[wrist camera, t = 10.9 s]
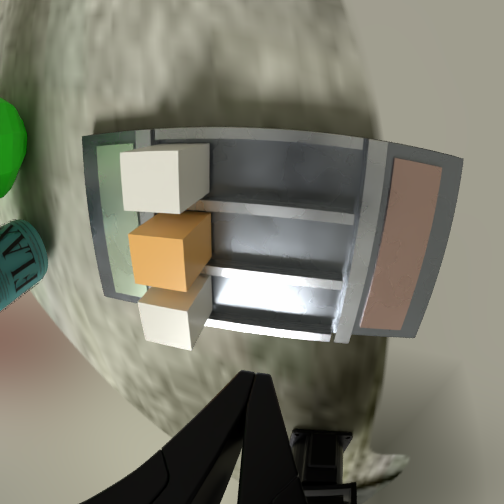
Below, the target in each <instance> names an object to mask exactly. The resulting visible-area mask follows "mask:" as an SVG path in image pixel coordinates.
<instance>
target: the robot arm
mask: <svg viewBox="0 0 504 504" xmlns="http://www.w3.org/2000/svg"><path fill="white" fill-rule="evenodd" d="M352 438H353V434H352V433H344V432H323V431H309V430H298V429H296V430H293V431H292V434H291V437H290V441H289V439H288V435H287V432H286V428H285V424H284V421H283V417H282V414H281V410H280V406H279V403H278V399H277V396H276V392H275V388H274V385H273V381H272V377H271V375H270V374H265V373H256V375H255V373H254V372H251V371H245V370H241V371H240V372H238V374H237V375H236V376H235V377H234V378H233V379H232V380H231V381H230V382H229V383H228V384H227V385H226V386H225V387H224V388H223V389H222V390H221V391H220V392H219V393H218V394H217V395H216V396H215V397H214V398H213V399H212V400H211V401H210V402H209V403H208V404H207V405H206V406H205V407H204V408H203V409H202V410H201V411H200V412H199V413H198V414H197V415H196V416H195V417H194V418H193V419H192V420H191V421H190V422H189V423H188V424H187V425H186V426H185V427H184V428H183V429H181V430H180V431H179V432H178V433H177V434H176V435H175V436H174V437H173V438H172V439H171V440H170V441H169V442H168V443H166V445H164V446H163V447H162V450H159V451H158V452H157V453H155V454H154V455H153V456H152V457H151V458H150V459H149V460H147V461H146V462H145V463H144V464H142V465H141V466H140V467H139V468H137V469H136V470H135V471H133V472H132V473H130V474H129V475H127V476H126V477H124V478H123V479H121V480H120V481H118V482H117V483H115V484H113V485H112V486H110V487H109V488H107V489H105V490H103V491H102V492H100V493H98V494H97V495H95V496H93V497H91V498H90V499H88V500H86V501H84V502H82V503H79V504H220V502H221V500H222V497H223V495H224V492H225V490H226V487H227V485H228V482H229V480H230V477H231V475H232V472H233V470H234V467H235V465H236V462H237V459H238V457H239V454H240V451H241V449H242V456H241V467H240V478H239V490H238V501H237V504H357V490H356V482H351V483H347V484H342V476H343V453H344V451H345V450H346V448H347V446H348V445H349V443H350V441H351V440H352ZM344 500H348V502H343V501H344Z"/></svg>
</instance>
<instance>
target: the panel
mask: <svg viewBox="0 0 504 504" xmlns="http://www.w3.org/2000/svg"><path fill="white" fill-rule="evenodd" d="M170 143H210V161H209V193H208V194H206V195H205V196H204V197H202V198H201V199H200V200H198V201H197V202H196V203H194V204H193V205H191V206H190V207H189V208H187V209H186V210H185V211H197V212H210V213H211V247H212V257H211V258H210V260H209V261H208V263H207V264H206V265H205V267H204V268H203V270H202V271H201V272H200V274H206V275H211V285H212V309H213V310H212V312H211V314H210V316H209V318H208V320H207V322H206V324H205V325H206V326H211V327H217V328H223V329H230V330H236V331H243V332H250V333H257V334H264V335H272V336H279V337H288V338H296V339H305V340H315V341H325V342H330V337H331V333H333V336H334V342H337V343H349V340H350V337H351V334H354V335H368V336H384V337H403V338H404V337H405V338H415V336H416V334H417V331H418V329H419V326H420V324H421V321H422V319H423V316H424V313H425V310H426V308H427V305H428V302H429V300H430V297H431V294H432V291H433V288H434V285H435V282H436V279H437V276H438V273H439V269H440V266H441V263H442V259H443V256H444V252H445V249H446V245H447V241H448V238H449V233H450V230H451V225H452V221H453V217H454V212H455V207H456V202H457V196H458V191H459V186H460V180H461V174H462V167H463V159H462V158H459V157H455V156H452V155H448V154H444V153H440V152H436V151H431V150H427V149H423V148H418V147H413V146H408V145H403V144H398V143H392V142H387V141H382V140H376V139H369V138H363V137H356V136H349V135H341V134H333V133H324V132H315V131H304V130H292V129H277V128H257V127H177V128H157V129H143V130H131V131H120V132H111V133H102V134H95V135H88V136H82V145H83V162H84V175H85V186H86V195H87V204H88V211H89V218H90V225H91V232H92V238H93V244H94V249H95V255H96V260H97V265H98V270H99V274H100V279H101V283H102V288H103V292H104V296H106V297H110V298H115V299H119V300H124V301H128V302H133V303H138V301H139V300H140V299H141V298H142V296H143V295H144V294H145V293H146V292H147V291H148V290H149V288H150V287H151V286H146V285H141V284H135V279H134V273H133V267H132V261H131V254H130V247H129V239H128V234H129V233H130V232H132V231H133V230H134V229H136V228H137V227H139V226H140V225H142V224H143V223H145V222H146V221H148V220H149V219H151V218H152V217H154V216H155V215H157V214H158V213H156V212H140V211H124V205H123V194H122V182H121V166H120V152H125V151H129V150H133V149H138V148H143V147H147V146H152V145H157V144H170Z"/></svg>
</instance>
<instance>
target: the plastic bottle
mask: <svg viewBox="0 0 504 504" xmlns="http://www.w3.org/2000/svg"><path fill="white" fill-rule="evenodd" d="M26 150H27V133H26V129H25V126H24V123H23V120H22V119H21V118H20V116H19V114H18V112H17V110H16V108H15V107H14V106H13V105H12V104H10V103H8V102H7V101H5V100H4V99H2V98H0V198H2V197H4V196H5V195H6V194H7V192H8V191H9V190H10V189H11V188H12V186H13V184H14V181H15V179H16V176H17V174H18V171H19V169H20V166H21V164H22V162H23V159H24V157H25V155H26Z"/></svg>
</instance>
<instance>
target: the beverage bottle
mask: <svg viewBox="0 0 504 504" xmlns="http://www.w3.org/2000/svg"><path fill="white" fill-rule="evenodd" d="M13 220H14V221H12V222H10V223H8V224H6V225H5V224H4V225H3V224H2V225H3V226H1V225H0V311H1V310H2V309H3V308H5V307H6V306H7V305H9V304H10V303H11V302H12V301H14V300H15V299H16V298H17V297H19V296H20V295H21V294H22V293H24V292H26V291H27V290H28V289H29V288H31V289H32V286H33V285H37V284H39V283H37V282H39V281H40V280H41V279H43V277H44V275H45V274H46V271H47V268H48V258H47V253H46V249H45V246H44V243H43V241H42V239H41V237H40V235H39V234H38V232H37V231H36V229H35V228H34V227H33V226H32V225H31V224H30V223H29V222H27V221H25V220H16V219H13ZM8 222H9V221H8ZM6 223H7V222H6ZM36 283H37V284H36ZM34 287H35V286H34ZM31 289H30V290H31ZM24 294H25V293H24ZM5 309H6V308H5Z"/></svg>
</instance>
